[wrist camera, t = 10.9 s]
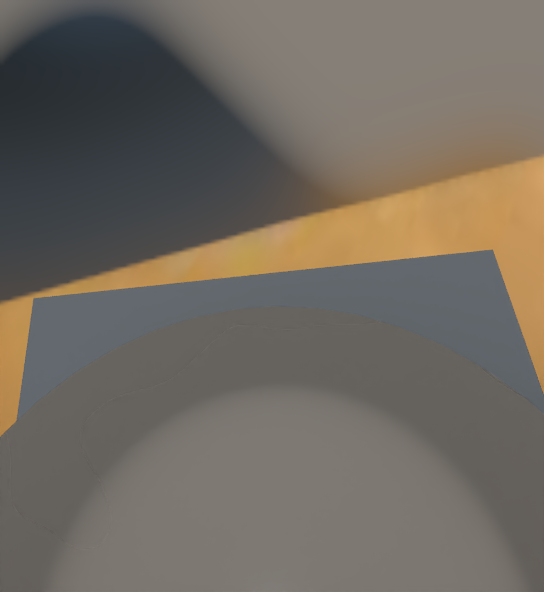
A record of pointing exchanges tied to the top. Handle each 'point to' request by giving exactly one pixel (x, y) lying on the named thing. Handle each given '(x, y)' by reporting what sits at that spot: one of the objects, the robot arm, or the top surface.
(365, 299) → the slate socket block
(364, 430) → the aluminium peg
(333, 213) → the top surface
